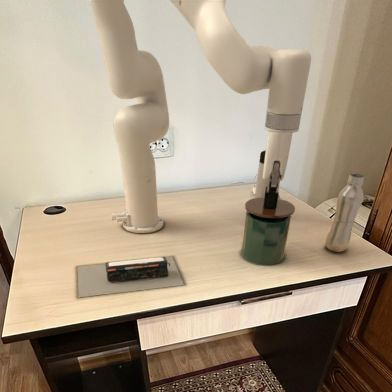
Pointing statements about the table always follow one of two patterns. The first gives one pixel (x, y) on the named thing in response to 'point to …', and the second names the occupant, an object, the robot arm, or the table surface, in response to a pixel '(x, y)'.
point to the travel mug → (261, 178)
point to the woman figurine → (255, 190)
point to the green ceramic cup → (265, 239)
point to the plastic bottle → (345, 213)
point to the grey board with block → (127, 276)
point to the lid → (257, 209)
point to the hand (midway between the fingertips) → (269, 205)
